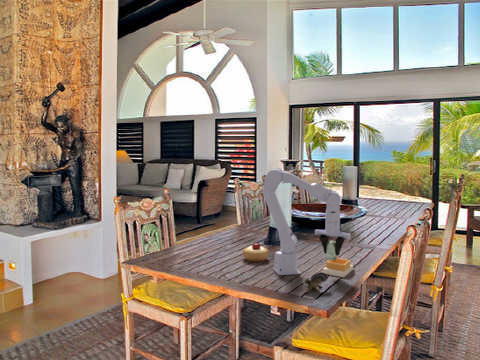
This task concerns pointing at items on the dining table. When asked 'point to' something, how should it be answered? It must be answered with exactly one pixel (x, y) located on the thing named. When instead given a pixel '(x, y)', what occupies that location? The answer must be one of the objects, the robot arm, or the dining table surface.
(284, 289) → the dining table surface
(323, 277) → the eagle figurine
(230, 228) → the dining table surface
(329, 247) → the green can
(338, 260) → the orange and cream box
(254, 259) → the pastry
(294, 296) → the dining table surface
